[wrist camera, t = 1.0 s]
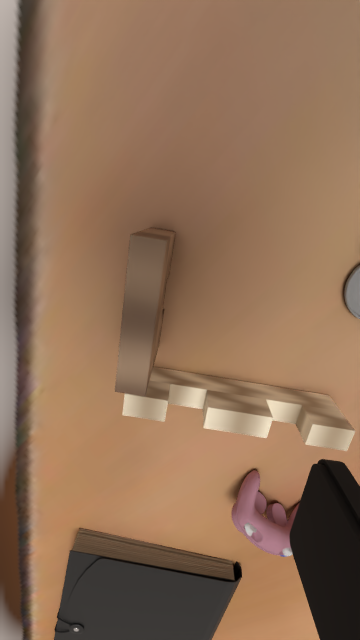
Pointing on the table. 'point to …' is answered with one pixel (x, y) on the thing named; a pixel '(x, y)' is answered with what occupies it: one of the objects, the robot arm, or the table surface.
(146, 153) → the table surface
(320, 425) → the wooden crenellated block
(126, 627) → the file folder
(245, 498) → the video game controller
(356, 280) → the pocket watch
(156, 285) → the walnut plate
